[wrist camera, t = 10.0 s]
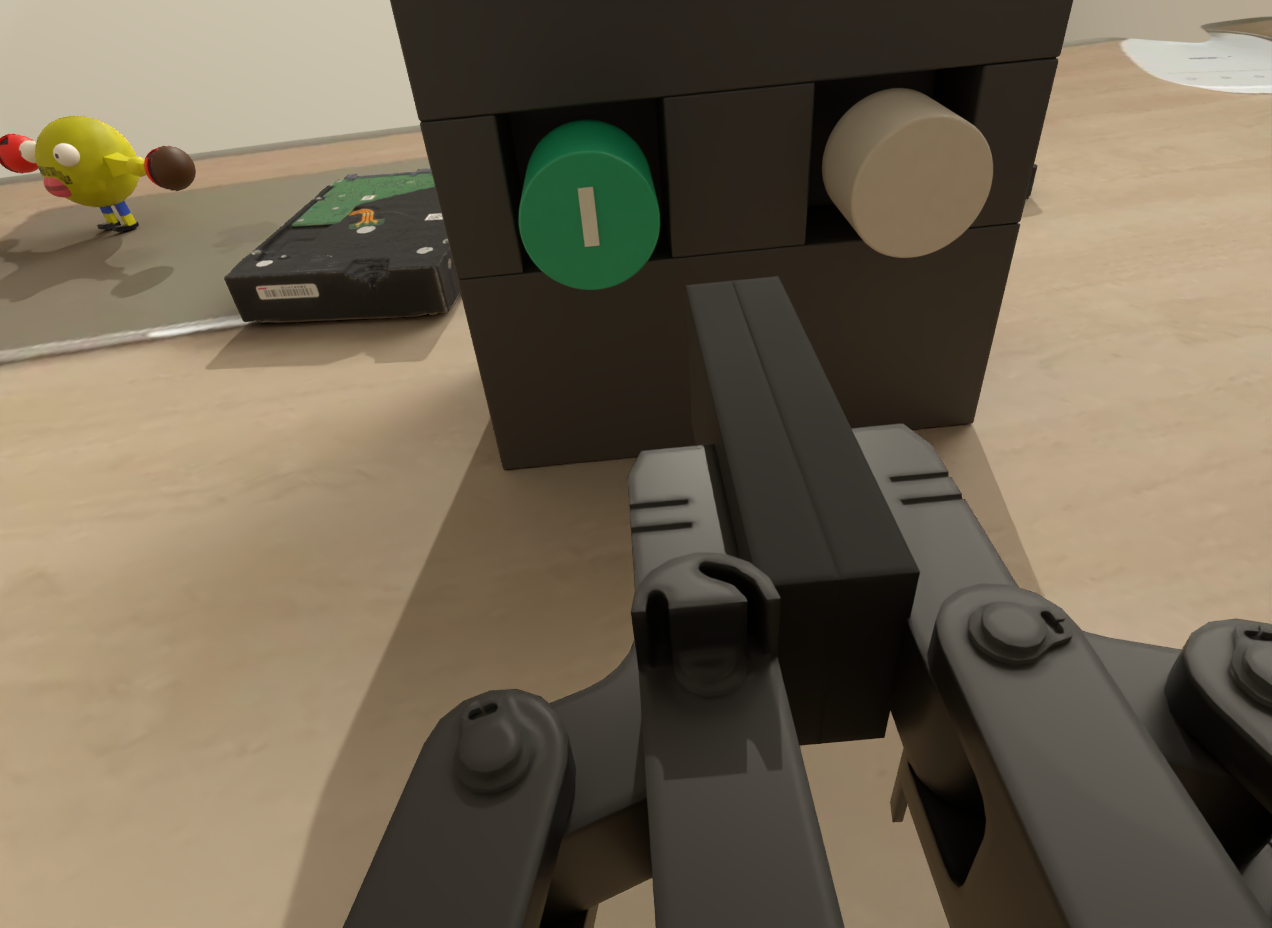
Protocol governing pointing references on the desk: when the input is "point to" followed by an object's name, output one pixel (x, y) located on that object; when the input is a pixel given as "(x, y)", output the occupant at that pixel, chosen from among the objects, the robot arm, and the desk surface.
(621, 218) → the key power
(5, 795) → the desk surface
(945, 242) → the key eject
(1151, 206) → the desk surface
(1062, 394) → the desk surface
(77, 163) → the toy figure
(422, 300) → the disk drive
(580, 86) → the dock
